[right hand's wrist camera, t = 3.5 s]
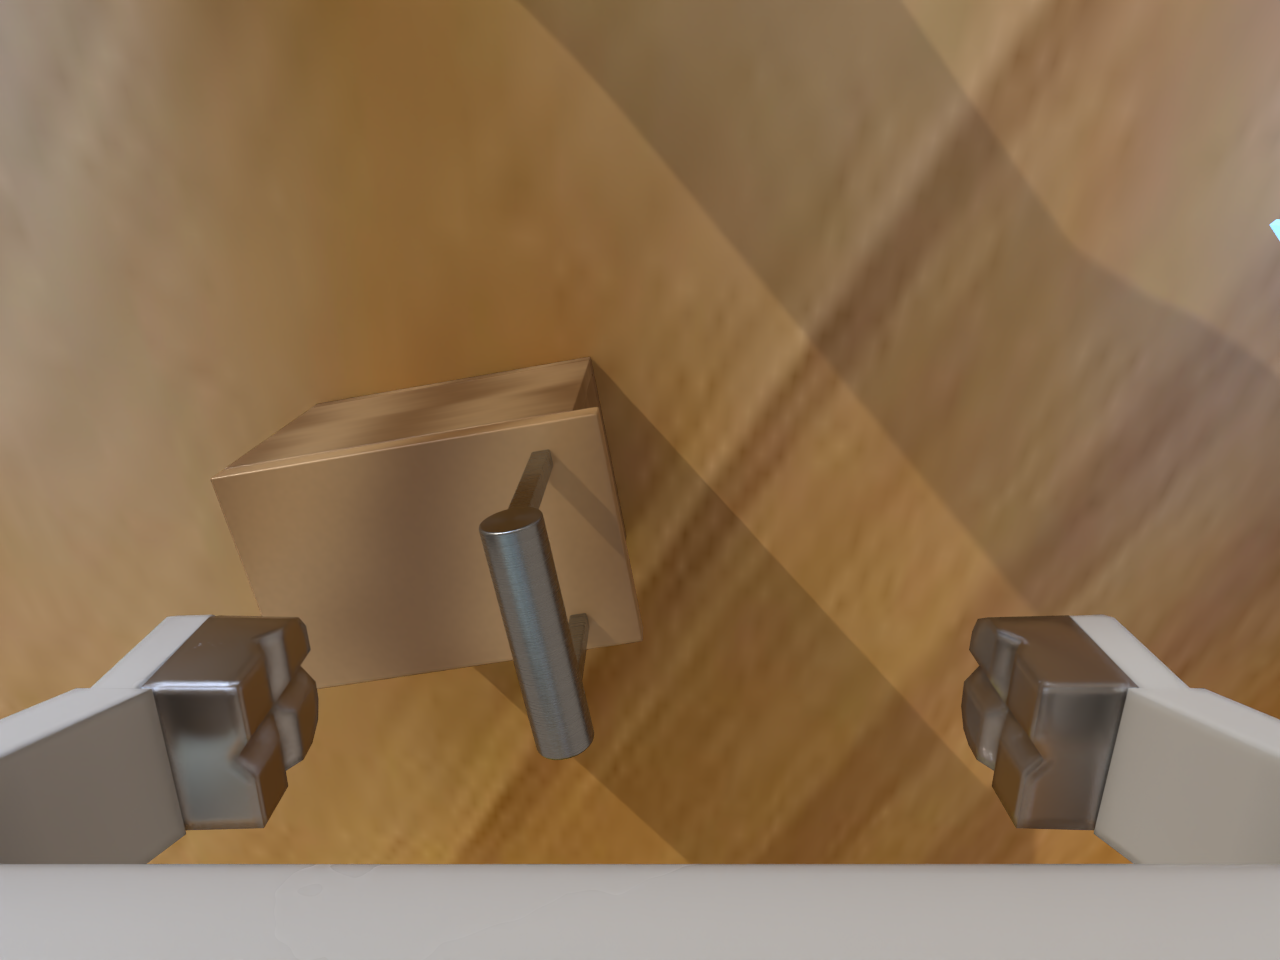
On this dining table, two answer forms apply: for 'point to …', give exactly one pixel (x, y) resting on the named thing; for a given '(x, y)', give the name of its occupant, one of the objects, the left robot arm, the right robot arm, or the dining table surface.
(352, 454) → the lid
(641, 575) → the dining table surface
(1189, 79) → the dining table surface
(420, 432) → the chest
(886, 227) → the dining table surface
